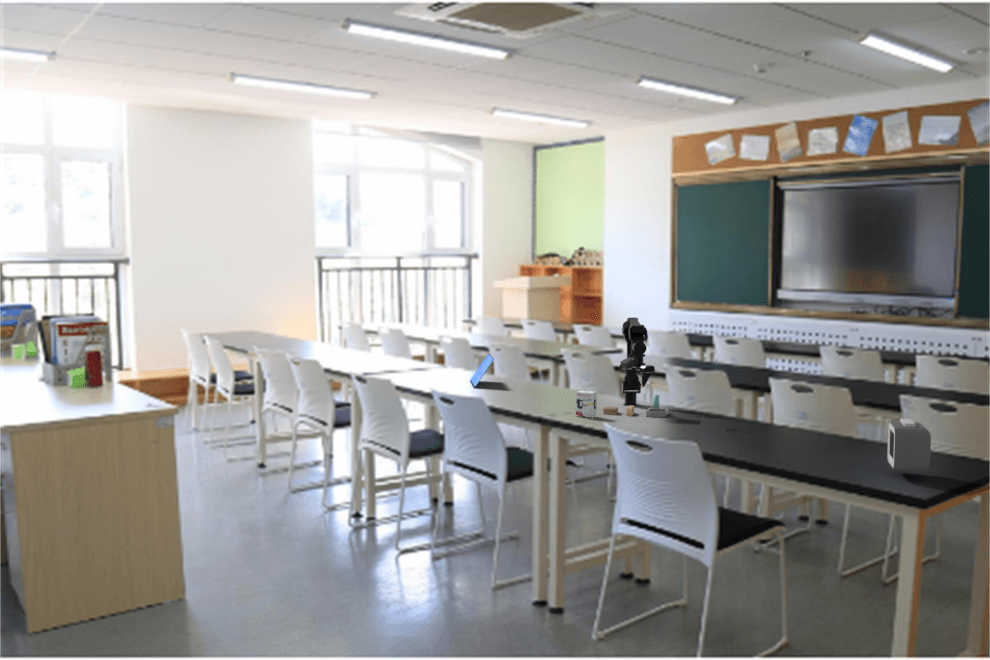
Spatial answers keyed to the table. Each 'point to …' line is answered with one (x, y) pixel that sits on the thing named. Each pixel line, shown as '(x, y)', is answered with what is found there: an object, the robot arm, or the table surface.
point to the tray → (656, 412)
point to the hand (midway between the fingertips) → (636, 385)
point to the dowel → (656, 401)
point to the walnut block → (610, 410)
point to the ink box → (586, 403)
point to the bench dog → (629, 410)
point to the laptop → (481, 370)
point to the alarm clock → (908, 445)
